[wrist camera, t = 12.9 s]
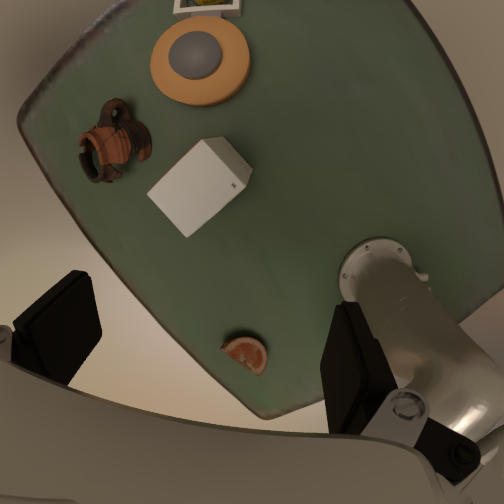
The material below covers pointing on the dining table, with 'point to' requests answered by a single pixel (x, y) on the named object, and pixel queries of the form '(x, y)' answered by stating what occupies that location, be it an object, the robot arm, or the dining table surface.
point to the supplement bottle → (210, 2)
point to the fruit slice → (247, 353)
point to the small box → (201, 184)
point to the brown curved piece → (113, 142)
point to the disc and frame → (201, 55)
